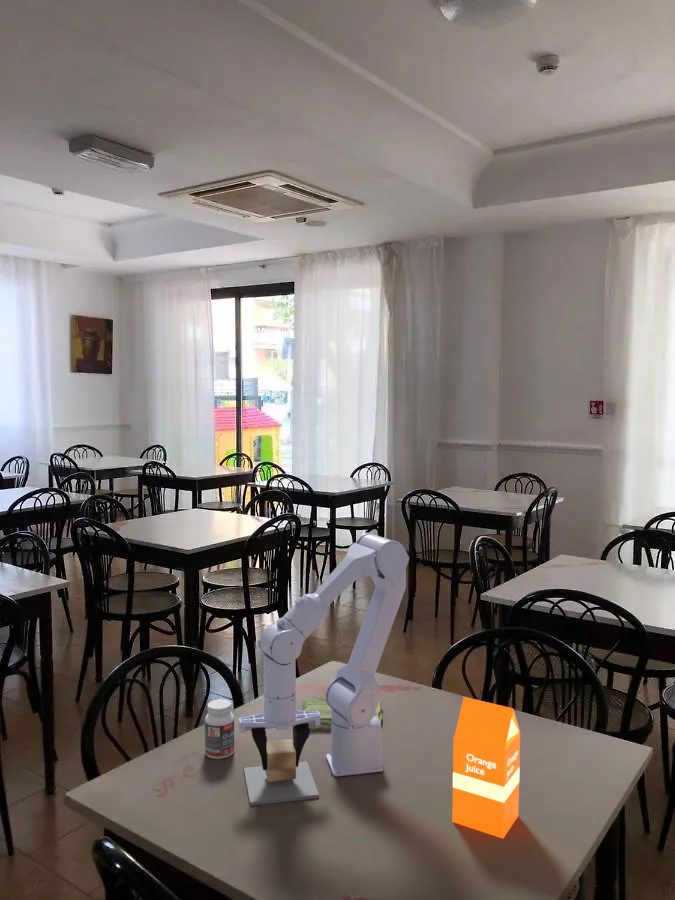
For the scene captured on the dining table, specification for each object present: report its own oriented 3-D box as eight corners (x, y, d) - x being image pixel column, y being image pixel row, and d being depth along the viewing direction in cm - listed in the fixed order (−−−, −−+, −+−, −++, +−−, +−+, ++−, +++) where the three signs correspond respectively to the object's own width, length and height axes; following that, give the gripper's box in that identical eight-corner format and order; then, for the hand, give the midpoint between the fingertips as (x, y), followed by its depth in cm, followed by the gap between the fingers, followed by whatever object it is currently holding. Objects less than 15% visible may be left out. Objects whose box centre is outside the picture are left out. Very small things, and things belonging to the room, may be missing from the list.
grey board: (307, 764, 141) (306, 761, 141) (318, 797, 130) (318, 794, 130) (243, 770, 139) (243, 767, 139) (250, 805, 127) (250, 802, 127)
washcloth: (382, 734, 155) (382, 719, 154) (298, 732, 155) (298, 718, 155) (381, 707, 168) (381, 694, 167) (303, 706, 168) (303, 692, 168)
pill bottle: (228, 761, 142) (228, 711, 142) (200, 758, 143) (200, 708, 143) (238, 747, 148) (238, 699, 147) (211, 744, 149) (210, 696, 148)
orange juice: (503, 839, 118) (505, 717, 116) (451, 822, 122) (453, 704, 121) (519, 815, 124) (521, 699, 123) (469, 800, 129) (471, 688, 127)
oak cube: (291, 765, 137) (291, 738, 137) (295, 778, 132) (295, 751, 132) (264, 767, 136) (264, 741, 136) (268, 781, 131) (267, 754, 131)
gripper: (241, 705, 127) (241, 781, 128) (323, 698, 130) (323, 772, 132) (237, 689, 134) (238, 761, 135) (316, 682, 137) (316, 753, 138)
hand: (280, 765), depth 134 cm, fingers closed on oak cube, 5 cm apart
